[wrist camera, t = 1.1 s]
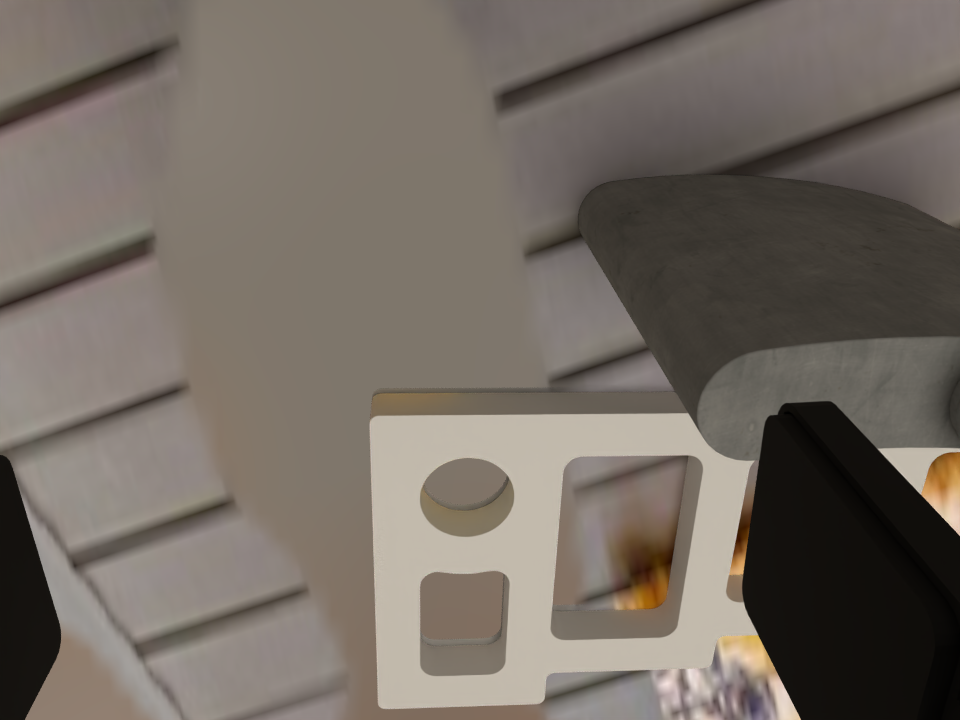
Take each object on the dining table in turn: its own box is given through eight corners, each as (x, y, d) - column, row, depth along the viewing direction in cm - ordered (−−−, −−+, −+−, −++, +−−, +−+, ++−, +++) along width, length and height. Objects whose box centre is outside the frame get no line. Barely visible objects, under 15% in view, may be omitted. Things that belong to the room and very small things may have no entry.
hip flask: (573, 249, 38) (717, 516, 20) (586, 157, 36) (757, 357, 18) (911, 272, 39) (1333, 539, 21) (939, 185, 38) (1424, 395, 19)
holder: (1250, 383, 44) (1299, 408, 41) (1127, 648, 51) (1163, 683, 49) (372, 388, 40) (369, 415, 38) (380, 671, 48) (378, 709, 46)
